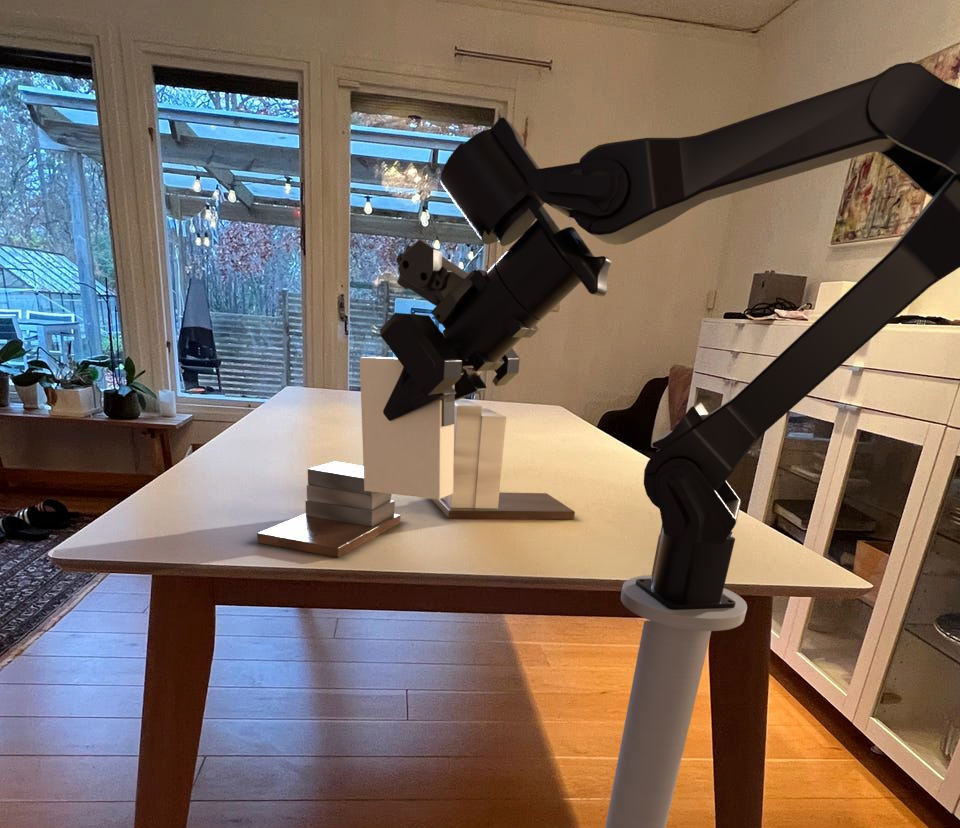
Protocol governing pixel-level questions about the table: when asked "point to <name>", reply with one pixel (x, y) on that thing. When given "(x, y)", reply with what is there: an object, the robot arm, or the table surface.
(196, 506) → the table surface
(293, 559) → the table surface
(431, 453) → the white book
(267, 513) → the table surface
